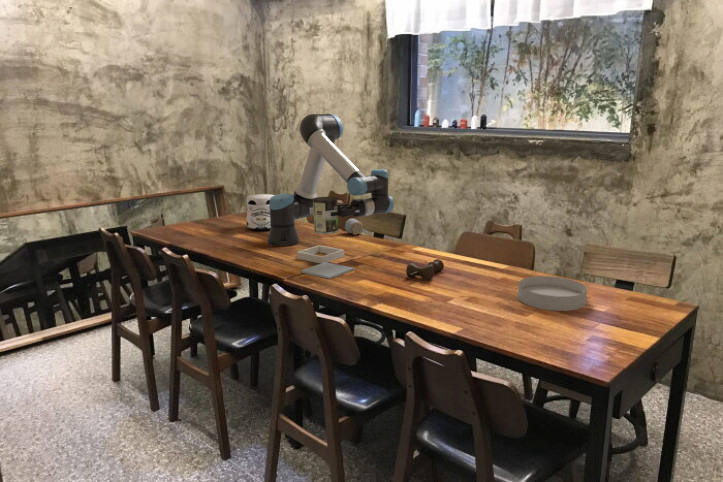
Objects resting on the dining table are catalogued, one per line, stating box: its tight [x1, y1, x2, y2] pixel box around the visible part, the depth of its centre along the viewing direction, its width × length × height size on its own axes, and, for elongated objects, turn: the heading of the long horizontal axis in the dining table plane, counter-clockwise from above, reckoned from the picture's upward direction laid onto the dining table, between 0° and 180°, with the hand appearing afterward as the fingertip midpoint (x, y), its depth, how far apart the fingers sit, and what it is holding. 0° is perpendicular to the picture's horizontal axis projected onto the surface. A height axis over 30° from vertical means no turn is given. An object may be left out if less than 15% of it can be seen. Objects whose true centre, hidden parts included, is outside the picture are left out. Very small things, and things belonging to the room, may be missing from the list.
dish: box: [516, 275, 588, 312], centre depth 184 cm, size 22×22×5 cm
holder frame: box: [296, 245, 345, 264], centre depth 238 cm, size 15×15×3 cm
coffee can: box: [313, 196, 339, 235], centre depth 227 cm, size 10×10×14 cm
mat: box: [300, 262, 355, 280], centre depth 218 cm, size 15×15×1 cm
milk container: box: [245, 193, 276, 231], centre depth 297 cm, size 17×17×18 cm
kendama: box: [405, 258, 445, 282], centre depth 210 cm, size 6×10×20 cm
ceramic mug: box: [344, 217, 368, 236], centre depth 284 cm, size 11×8×8 cm
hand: (316, 213), depth 224 cm, fingers closed on coffee can, 10 cm apart
